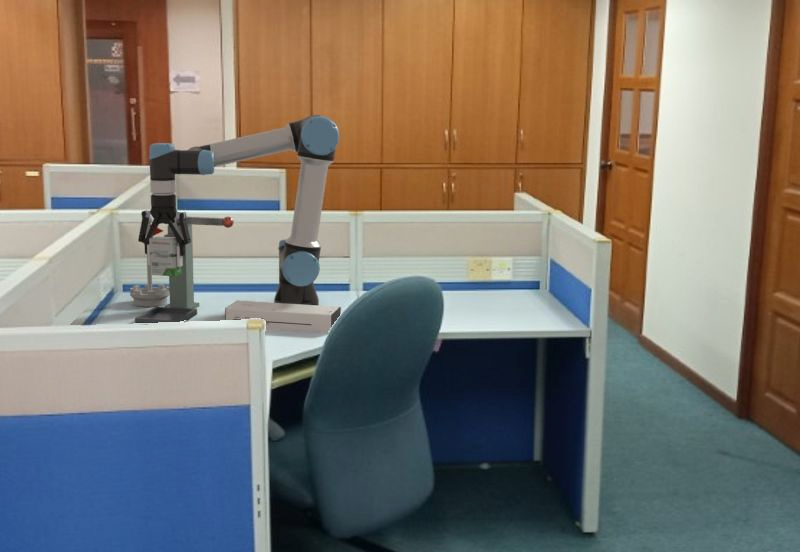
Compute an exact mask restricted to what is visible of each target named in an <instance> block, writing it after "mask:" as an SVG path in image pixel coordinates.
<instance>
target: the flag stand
mask: <svg viewBox="0 0 800 552" xmlns="http://www.w3.org/2000/svg"><path fill="white" fill-rule="evenodd" d="M152 222H153V217H152V215H150V217H149V222H148V227H147V232H146V236H147V234H148V232H149V229H150V227H151V225H152ZM162 232H164V230H163V229H162V228H161V229H160V228H159V227H157V229H156V231H155V233H154V236H156V235H158V234H160V233H162ZM146 272H147V273H146V274H147V283H145V284H144V287H141V285H139V284H137V285H133V286H132V287H129V296H130V297H131V298H132V299H133V305H134V306H135V307H149V308H150V307H153V308H154V307H162V306H166V305H167V304H168V297H170V292H169V286H168V285H165V284H160V283H159V284H157V287H155V286H154V287H153V275H151V265H148V256H147V255H146Z"/></svg>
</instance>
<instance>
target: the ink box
mask: <svg viewBox="0 0 800 552" xmlns="http://www.w3.org/2000/svg"><path fill="white" fill-rule="evenodd" d="M149 245H150V265H151V275H152V276H161V277H163V276H164V277H169V276H177V275H180V274H182V266H180V267H177V246H178V245H179V244H178V242H177V240H176V238H175V237H164V236H153V238H150V239H149Z"/></svg>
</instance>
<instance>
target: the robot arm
mask: <svg viewBox="0 0 800 552" xmlns="http://www.w3.org/2000/svg"><path fill="white" fill-rule="evenodd" d="M339 142H340V131H339V128H338V126H337V124H336V123H335V121H333V120H332V119H331V118H330V117H327V116H323V115H319V114H314V115H309V116H307V117H304V118H301V119H300V120H296V121H292V122H288V123H287V124H286V125H285V127H280V128H275V129H271V130H267V131H262V132H258V133H255V134H249V135H244V136H239V137H236V138H230V139H226V140H223V141H217V142H214V143H210V144H204V145H200V146H193V147H189V149H187V150H184V149H183V150H181V149H180V150H179V149H176V148H175V144H173V143H170V142H168V143H167V142H160V143H159V142H155V143H152V144H150V146H149V157H148V160H149V176H150V178H149V179H150V180H149V181H150V186H149V187H150V193H151V195H150V206H151V208H150V210H142V211H141V214H140V215H141V223H140V228H139V229H140V230H139V233H138V234H139V235H138V239H137V240H138V242H139V243H142V244H143V245H144V254H145V255H146V257H147V256H148V265H150V245H149V239H150V238H153V237H155V235H154V233H155V231H156V229H157V228H159V225H163V224H164V225H167V226H168V225H169V227H170V228H171V230H172V232H173V234H174V236H175V238H176V240H177V242H178V244H179V245H178V246H177V267H180V266H183V256H184V255H185V245H186V244H189V243H191V239H190V235H189V231H188V227H187V222H186V216H187V212H185V211H183V212H181V211H178V210H177V196H176V194H175V193H176V175H192V176H193V175H195V176H196V175H199V176H206V175H213V174H214V173H215V168H216V167H220V166H226V165H229V164H234V163H239V162H243V161H248V160H252V159H257V158H261V157H265V156H269V155H275V154H279V153H280V154H281V153H283V152H287V151H291V152H294V153H297V155H296V156H297V158H298V159H299V161H300V167H299V168H300V169H299V175H298V183H297V190H296V195H295V196H296V197H295V202H294V211H293V217H292V218H293V219H292V226H291V232H290V236H289V237H288V238H286V239H281V240H280V241H279V243H278V248H277V249H278V286H277V290H276V292H275V296H274V297H273V298H274V299H273V303H286V304H302V305H318V306H320V305H319V304H320V303H319V302H320V301H319V296H318V294H317V291H316V287H315V283H314V282H315V280H316V279H317V278H318V276H319V274H320V271H321V269H320V268H321V267H320V258H321V257H320V255H321V248H322V245H321V243H320V242H319V240H318V238H319V237H318V236H319V231H320V230H319V229H320V223H321V215H322V209H323V204H324V196H325V189H326V184H327V177H328V176H327V175H328V171H329V170H328V169H329V166H330V165H331V164H333V163H334V162H335V154H336V151H337V150H336V148H337V147H338V145H339ZM150 216H151V217H152V222H151V227H150V229H149V232H148V234H147V236H146V232H147V227H148V222H149V217H150ZM176 216H178V219H179V222H180V226H181V230H182V234H181V232H180V230H179V228H178V226H177V223H176V221H175V219H174V218H175V217H176ZM182 235H183V236H182Z"/></svg>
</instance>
